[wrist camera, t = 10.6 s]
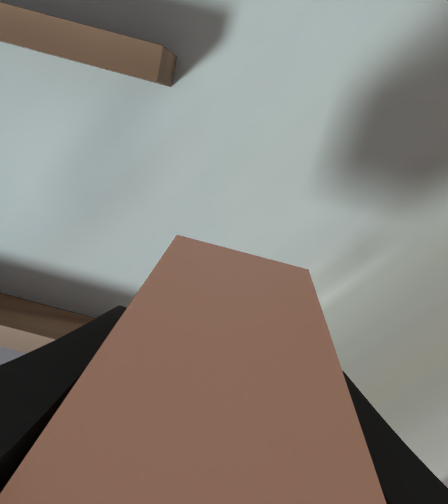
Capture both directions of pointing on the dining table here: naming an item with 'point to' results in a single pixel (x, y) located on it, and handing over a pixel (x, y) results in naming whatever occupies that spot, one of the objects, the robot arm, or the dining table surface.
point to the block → (207, 397)
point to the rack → (95, 54)
